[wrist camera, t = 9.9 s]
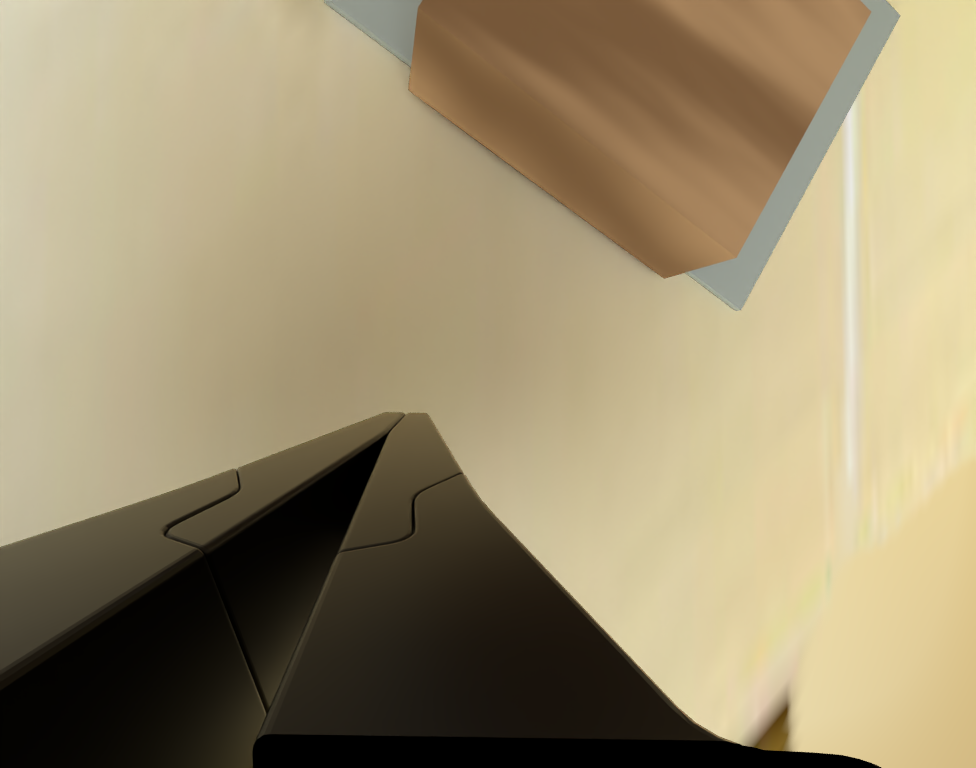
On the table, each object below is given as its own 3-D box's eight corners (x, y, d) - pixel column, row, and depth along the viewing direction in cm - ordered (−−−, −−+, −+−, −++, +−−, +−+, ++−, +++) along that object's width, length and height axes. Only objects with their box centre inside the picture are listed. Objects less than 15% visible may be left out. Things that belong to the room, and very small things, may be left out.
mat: (735, 310, 21) (740, 310, 21) (324, 2, 16) (323, -4, 16) (893, 20, 22) (900, 15, 22) (549, -341, 18) (552, -352, 17)
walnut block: (736, 257, 15) (871, 12, 16) (417, 7, 13) (596, -273, 14) (659, 279, 20) (769, 84, 20) (407, 95, 17) (544, -122, 18)
